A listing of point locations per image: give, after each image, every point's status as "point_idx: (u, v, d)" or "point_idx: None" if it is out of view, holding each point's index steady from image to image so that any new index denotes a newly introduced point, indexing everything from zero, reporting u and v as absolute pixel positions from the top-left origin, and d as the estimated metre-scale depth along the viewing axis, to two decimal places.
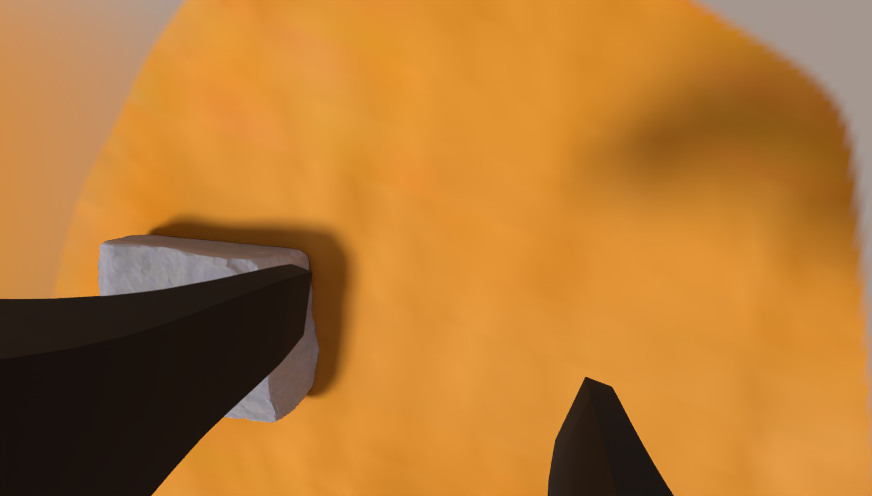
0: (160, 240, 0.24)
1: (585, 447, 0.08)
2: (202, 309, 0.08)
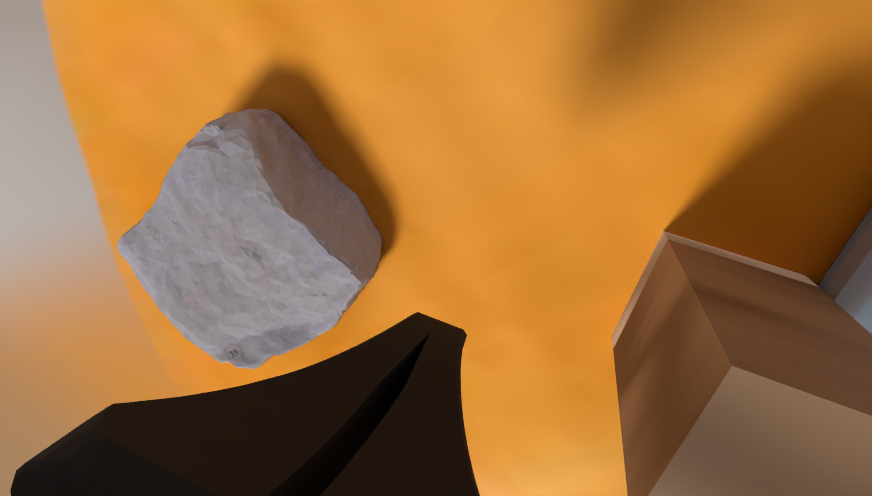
0: None
1: None
2: (377, 384, 0.07)
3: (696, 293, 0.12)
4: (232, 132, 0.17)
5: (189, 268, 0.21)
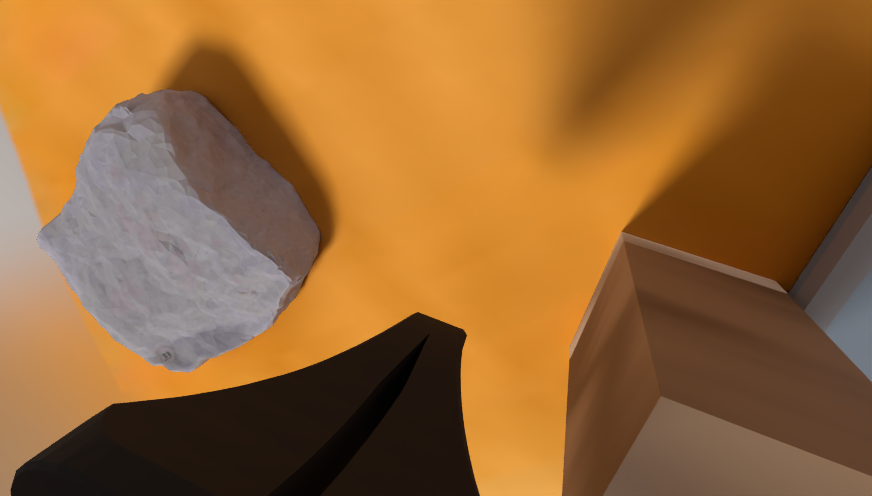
0: None
1: None
2: (377, 384, 0.07)
3: (640, 303, 0.10)
4: (141, 114, 0.16)
5: (112, 264, 0.19)
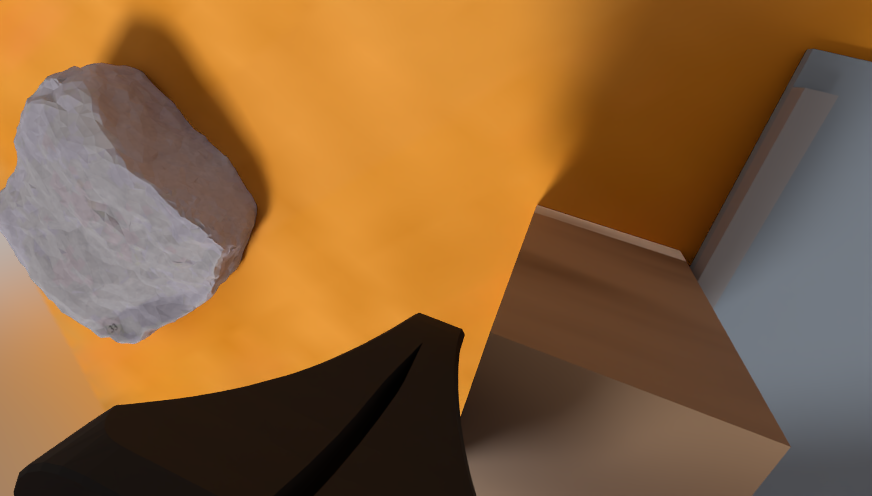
0: None
1: None
2: (380, 385, 0.07)
3: (517, 262, 0.11)
4: (70, 85, 0.16)
5: (54, 236, 0.20)
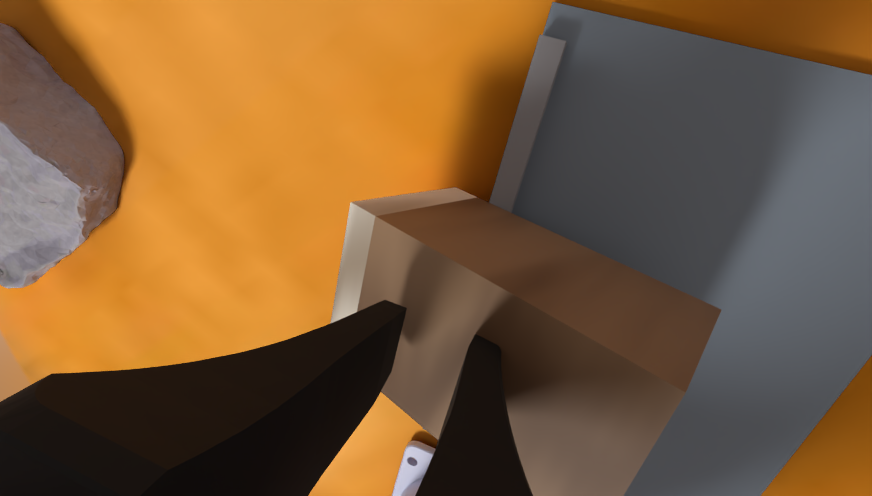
0: None
1: (454, 393, 0.09)
2: (331, 364, 0.08)
3: (521, 298, 0.10)
4: None
5: None
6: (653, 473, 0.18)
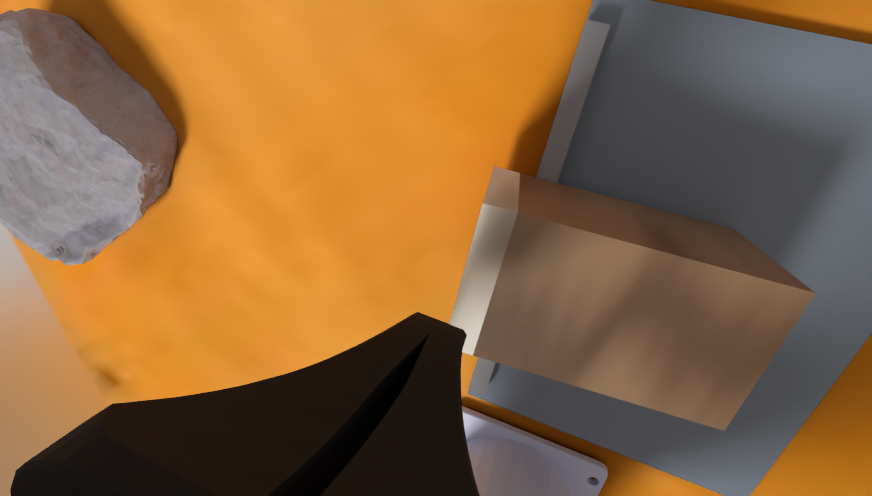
0: None
1: None
2: (377, 384, 0.07)
3: (683, 256, 0.12)
4: (5, 23, 0.20)
5: (3, 165, 0.23)
6: (687, 426, 0.19)
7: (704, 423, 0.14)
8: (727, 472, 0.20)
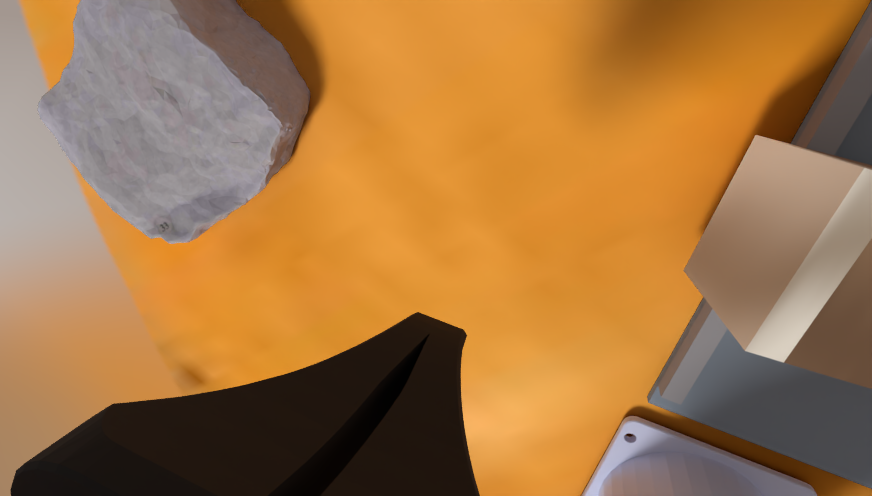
0: None
1: None
2: (377, 384, 0.07)
3: None
4: None
5: (109, 126, 0.20)
6: None
7: None
8: None
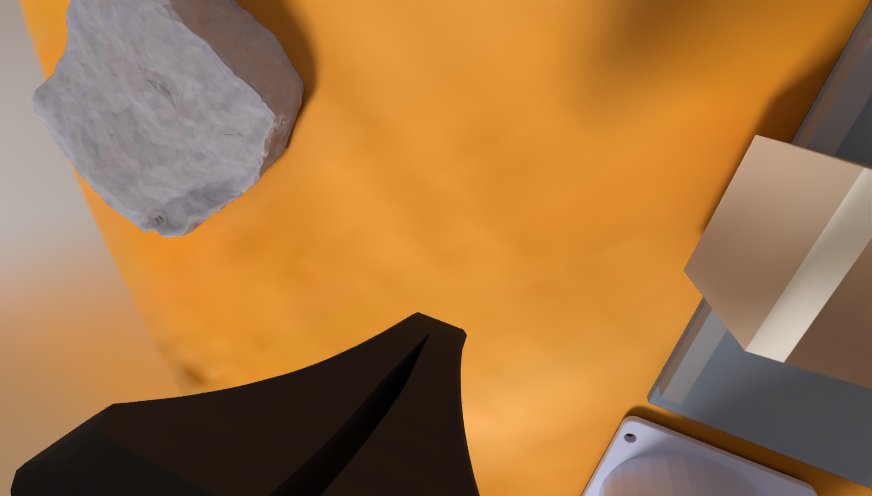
0: None
1: None
2: (377, 384, 0.07)
3: None
4: None
5: (103, 119, 0.20)
6: None
7: None
8: None
